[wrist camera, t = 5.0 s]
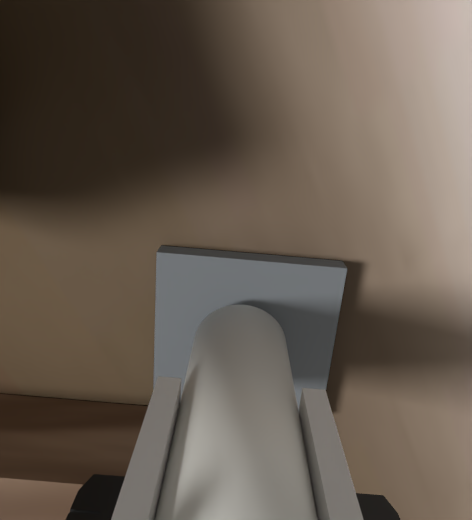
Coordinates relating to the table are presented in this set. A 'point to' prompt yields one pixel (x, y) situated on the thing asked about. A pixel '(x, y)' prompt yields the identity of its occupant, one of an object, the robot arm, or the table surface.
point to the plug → (238, 427)
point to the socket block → (59, 451)
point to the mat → (248, 293)
